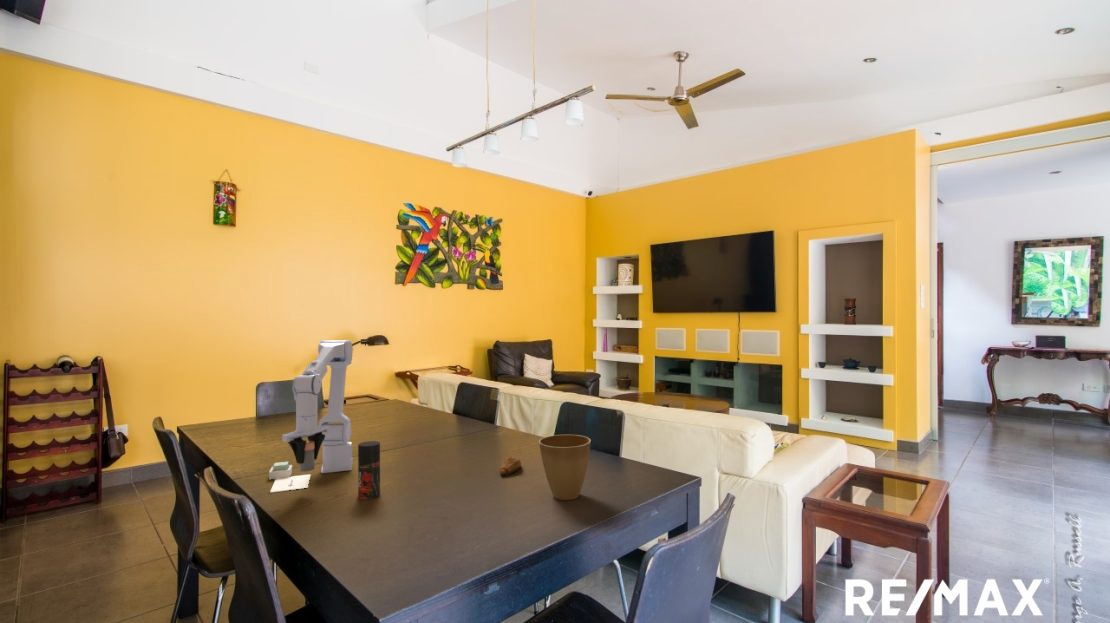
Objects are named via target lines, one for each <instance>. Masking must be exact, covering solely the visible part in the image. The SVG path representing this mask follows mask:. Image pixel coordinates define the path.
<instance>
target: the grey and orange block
mask: <svg viewBox="0 0 1110 623" xmlns="http://www.w3.org/2000/svg"><path fill="white" fill-rule="evenodd" d="M306 441H307V442H306V445H305V450H304V462H303V463H302V464H300V463H298V466H299V467H298V468H299V471H300V472H310V471H312V470H313V471H314V469H315V460H314V448H315V441H308V440H306Z"/></svg>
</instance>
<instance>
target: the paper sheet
mask: <svg viewBox="0 0 1110 623" xmlns="http://www.w3.org/2000/svg"><path fill="white" fill-rule="evenodd" d="M311 476H312V474H309V473H308V474H301V475H293V476H292V475H291V477H282V478H276V479H274V481H273V482H274V483H273V485H272V487H271V488H270V491H269V494H274V493H282V492H289V490H291V491H297V490H296V489H299V490H305V489H304V488H307V489H309V485H310V484H309V483H310V481H309V480H311ZM308 484H309V485H308Z"/></svg>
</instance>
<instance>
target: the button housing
mask: <svg viewBox="0 0 1110 623" xmlns="http://www.w3.org/2000/svg"><path fill="white" fill-rule="evenodd" d="M292 474H293V464H288V470H278V471H273V466H271V468H270V470H269V471H268V480H269V481H270V480H271V479H273V480H276V478H282V477H290V476H292Z"/></svg>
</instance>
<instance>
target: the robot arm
mask: <svg viewBox="0 0 1110 623" xmlns="http://www.w3.org/2000/svg"><path fill="white" fill-rule="evenodd" d="M317 350H318V351H317V354H318V355H317V357H316V359H315V360H311V362H310V363H308V365H307V367H306V368H305V369H304V371H302V373H301V374H299V375H297V376H295V377H294V379H293V381H292V386H291V387H292V388H291V389H292V394H293V399H294V402H295V406H296V407H295V428H296V429H295V430H294V431H293V430H292V431H291V432H288V433H285V434H282V435H281V436H282V437H281V441H282V443H288V445H289V446H290V448H291V449H292V451H293V454H294V458H295V462H296V464H299V463H300V464H302V463H303V462H304V450H305V445H306V442H307V441H315V448H314V461H315V460H318V456H319V452H320V449H321V446H322V466H321V469H320V470H321V471H320V473H321V474H329V473H336V472H345V471H352V470H353V469H352V468H353V466H352V465H353V463H354V458H353V457H352V456H353V455H352V454H353V447H352V446H353V445H352V444H353V442H352V441H349V440H350V439H351V436H352V426H351V425H352V424H351V422H352V421H351V419H350V417H348V416H347V415H345V414H344V402H345V401H344V400H345V389H346V388H345V387H346V378H347V369H348V366H350V365H351V364H352V360H353V352H354V349H353V343H352V342H351V340H350V339H341V340H340V339H338V340H337V339H336V340H335V339H331V340H329V339H327V340H325V339H322V340H320V342H319V343H318V346H317ZM328 366H329V367H330V378H329V379H330V381H329V383H330V384H329V390H328V391H329V395H328V403H327V404H328V405H327V414H326V415H324V416H323V417H321V419H319V420H318V394H319V393H320V391H321V387H322V384H323V379H324V378H325V376H326V374H327V372H328ZM304 438H307V440H304Z"/></svg>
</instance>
